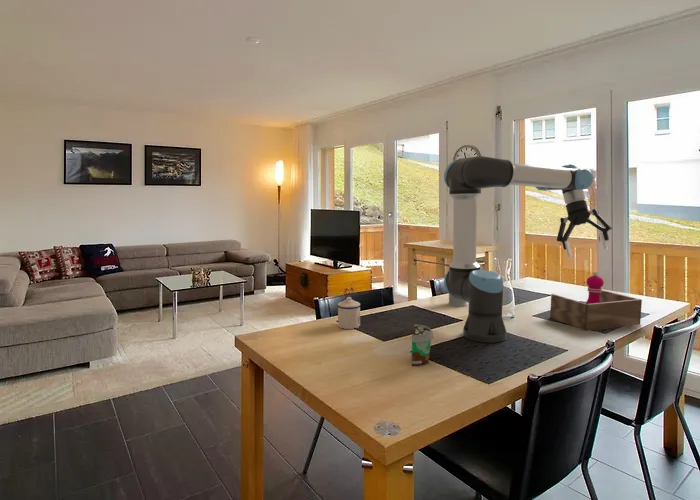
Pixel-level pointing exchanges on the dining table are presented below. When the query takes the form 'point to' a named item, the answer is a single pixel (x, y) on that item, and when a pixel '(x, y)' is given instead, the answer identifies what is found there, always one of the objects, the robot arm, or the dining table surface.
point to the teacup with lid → (349, 314)
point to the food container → (421, 345)
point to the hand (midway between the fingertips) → (587, 253)
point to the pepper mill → (594, 288)
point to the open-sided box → (597, 311)
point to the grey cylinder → (456, 302)
